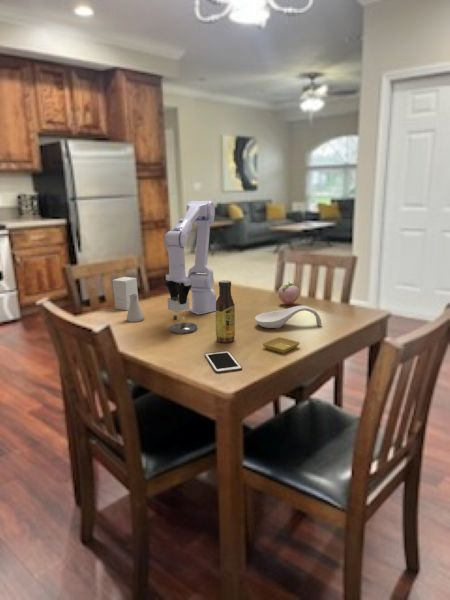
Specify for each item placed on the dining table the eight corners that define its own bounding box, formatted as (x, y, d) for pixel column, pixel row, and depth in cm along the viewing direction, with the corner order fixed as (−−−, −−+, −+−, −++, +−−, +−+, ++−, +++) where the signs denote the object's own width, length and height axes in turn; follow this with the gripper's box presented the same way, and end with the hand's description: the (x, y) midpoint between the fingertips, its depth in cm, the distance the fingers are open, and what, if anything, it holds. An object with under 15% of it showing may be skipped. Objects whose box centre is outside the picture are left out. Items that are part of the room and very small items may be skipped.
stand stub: (175, 318, 176) (175, 314, 176) (177, 319, 175) (177, 315, 175) (172, 319, 175) (172, 315, 175) (174, 320, 174) (174, 316, 174)
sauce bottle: (228, 344, 146) (227, 284, 141) (212, 341, 149) (210, 282, 145) (239, 338, 152) (237, 280, 147) (223, 335, 155) (221, 278, 150)
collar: (181, 306, 169) (181, 295, 168) (189, 309, 164) (188, 298, 164) (168, 308, 166) (167, 298, 165) (175, 312, 161) (175, 301, 160)
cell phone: (216, 375, 124) (215, 371, 124) (204, 356, 138) (203, 353, 138) (243, 371, 126) (243, 368, 126) (228, 353, 140) (228, 350, 140)
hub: (188, 323, 170) (187, 312, 168) (202, 330, 162) (202, 317, 160) (164, 329, 164) (163, 317, 163) (178, 335, 156) (177, 323, 155)
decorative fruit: (284, 301, 197) (285, 278, 195) (302, 303, 193) (302, 280, 190) (274, 306, 190) (274, 282, 188) (291, 309, 185) (291, 285, 183)
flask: (140, 322, 172) (138, 297, 170) (122, 322, 174) (120, 296, 171) (147, 317, 179) (145, 292, 177) (130, 316, 181) (128, 292, 178)
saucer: (261, 349, 142) (261, 343, 142) (279, 342, 148) (279, 336, 148) (283, 356, 136) (283, 349, 136) (300, 348, 142) (300, 342, 142)
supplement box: (139, 306, 195) (137, 277, 192) (127, 310, 189) (124, 281, 186) (126, 304, 199) (124, 276, 196) (114, 308, 193) (111, 279, 190)
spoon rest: (256, 332, 158) (256, 312, 157) (253, 322, 170) (253, 303, 168) (324, 330, 159) (324, 310, 157) (316, 320, 170) (317, 301, 168)
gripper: (157, 263, 165) (159, 300, 168) (177, 269, 153) (179, 307, 157) (174, 261, 169) (176, 297, 172) (195, 266, 157) (196, 304, 161)
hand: (178, 302), depth 165 cm, fingers closed on collar, 6 cm apart
